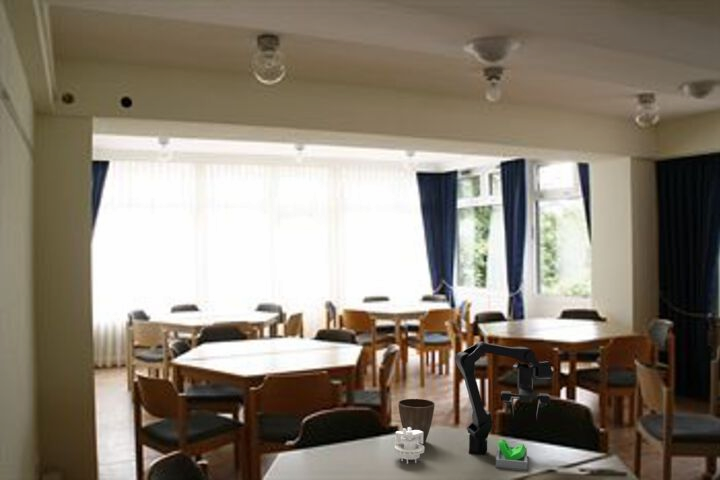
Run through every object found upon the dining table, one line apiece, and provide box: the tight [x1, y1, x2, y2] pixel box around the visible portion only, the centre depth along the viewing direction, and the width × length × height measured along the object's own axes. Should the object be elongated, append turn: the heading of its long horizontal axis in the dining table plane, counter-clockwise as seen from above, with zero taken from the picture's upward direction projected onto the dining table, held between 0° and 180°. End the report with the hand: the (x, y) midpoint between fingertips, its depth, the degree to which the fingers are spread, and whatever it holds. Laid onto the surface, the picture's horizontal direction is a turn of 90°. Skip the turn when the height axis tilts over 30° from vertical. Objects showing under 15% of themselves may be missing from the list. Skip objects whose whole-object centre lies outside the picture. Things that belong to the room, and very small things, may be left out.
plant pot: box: [397, 398, 436, 445], centre depth 259 cm, size 15×15×16 cm
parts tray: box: [495, 444, 528, 472], centre depth 237 cm, size 11×17×3 cm, turn 166°
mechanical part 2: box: [497, 439, 528, 460], centre depth 237 cm, size 12×6×8 cm
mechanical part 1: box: [394, 427, 425, 465], centre depth 237 cm, size 11×12×12 cm
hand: (525, 418), depth 251 cm, fingers open, 9 cm apart
